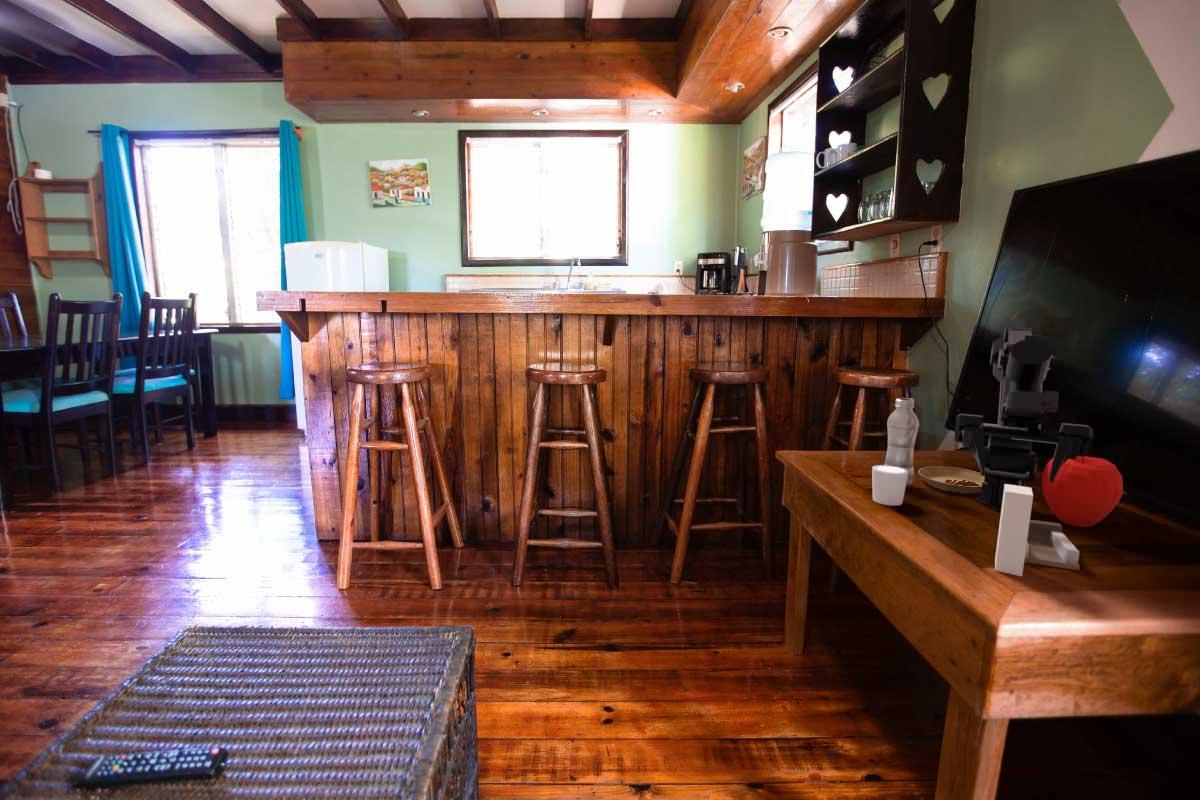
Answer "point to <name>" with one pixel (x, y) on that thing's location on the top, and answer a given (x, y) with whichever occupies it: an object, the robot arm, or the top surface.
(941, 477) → the plant saucer
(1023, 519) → the white rectangular block
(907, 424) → the plastic bottle
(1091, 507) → the apple
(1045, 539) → the sill track
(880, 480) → the white cup
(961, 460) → the top surface
